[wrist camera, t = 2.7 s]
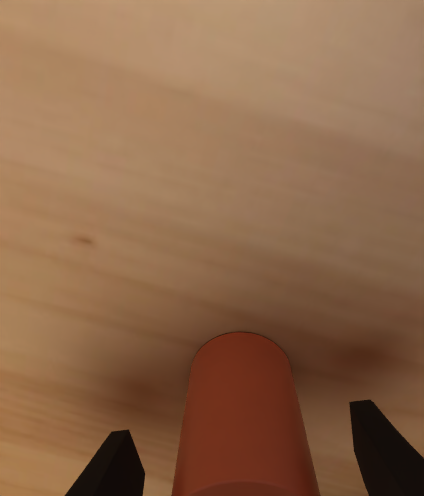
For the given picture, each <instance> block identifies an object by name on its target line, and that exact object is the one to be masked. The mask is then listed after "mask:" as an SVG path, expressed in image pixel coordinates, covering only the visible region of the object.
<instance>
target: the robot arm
mask: <svg viewBox="0 0 424 496" xmlns="http://www.w3.org/2000/svg"><path fill="white" fill-rule="evenodd" d="M349 403H350V414H351V424H352V434H353V445H354V452H355V455H356V458H357V461H358V465H359V468H360V471H361V474H362V477H363V480H364V483H365V487H366V489H367V491H368V494H369V496H424V458H423V457H422V456H421V455H420V454H419V453H418V452H417V451H416V450H415V449H414V448H413V447H412V446H411V445H410V444H409V443H408V442H407V440H406V439H405V438H404V437H403V436H402V435H401V434H400V433H399V432H398V431H397V430H396V428H395V427H394V426H393V425H392V424H391V423H390V422H389V421H388V419H387V418H386V417H385V416H384V415H383V413H382V412H381V411H380V410H379V409H378V407H377V406H376V405H375V404H374V402H372V401H371V400H362V401H354V402H349ZM144 479H145V472H144V469H143V466H142V464H141V461H140V458H139V455H138V453H137V450H136V447H135V445H134V442H133V439H132V437H131V434H130V431H129V430H121V431H113V432H111V433H110V435H109V436H108V437H107V439H106V440H105V441H104V443H103V444H102V445H101V447H100V448H99V450H98V451H97V452H96V454H95V455H94V457H93V458H92V459H91V461H90V462H89V464H88V465H87V466H86V468H85V469H84V470H83V472H82V473H81V475H80V476H79V477H78V479H77V480H76V481H75V483H74V484H73V485H72V487H71V488H70V489H69V491H68V492H67V493H66V495H65V496H143V488H144Z"/></svg>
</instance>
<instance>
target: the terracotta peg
mask: <svg viewBox="0 0 424 496" xmlns="http://www.w3.org/2000/svg"><path fill="white" fill-rule="evenodd" d="M171 496H320V492H319V488H318V484H317V480H316V475H315V471H314V467H313V462H312V458H311V454H310V449H309V445H308V441H307V436H306V432H305V428H304V423H303V419H302V415H301V410H300V406H299V402H298V397H297V393H296V389H295V384H294V380H293V376H292V371H291V367H290V363H289V361H288V358H287V357H286V355H285V353H284V352H283V351H282V350H281V349H280V348H279V347H278V346H277V345H276V344H275V343H273V342H272V341H270V340H269V339H267V338H265V337H262V336H260V335H256V334H252V333H245V332H236V333H229V334H224V335H221V336H218V337H216V338H214V339H212V340H211V341H209V342H207V343H206V344H205V345H204V346H203V347H202V348H201V349H200V350H199V351H198V352H197V354H196V355H195V357H194V359H193V362H192V365H191V371H190V378H189V384H188V391H187V397H186V404H185V410H184V417H183V423H182V430H181V437H180V443H179V450H178V456H177V463H176V469H175V476H174V482H173V489H172V495H171Z"/></svg>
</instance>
